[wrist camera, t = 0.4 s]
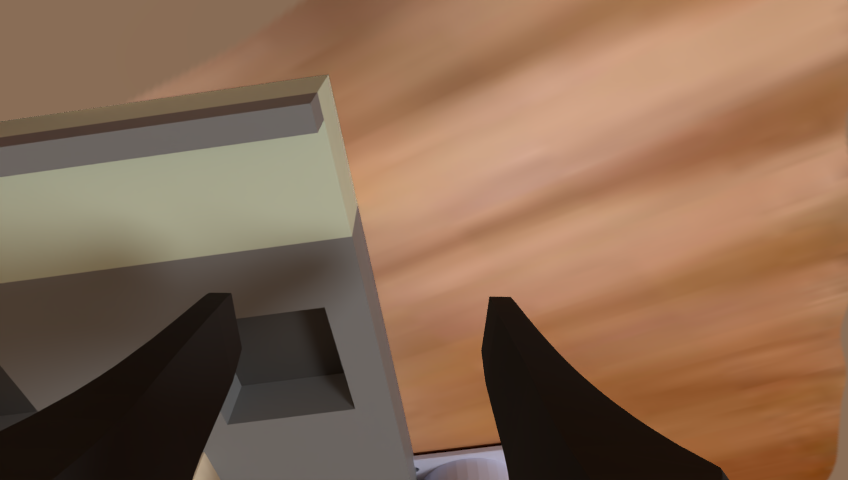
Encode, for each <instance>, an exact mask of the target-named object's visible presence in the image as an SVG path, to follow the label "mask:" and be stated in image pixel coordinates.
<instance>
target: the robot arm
mask: <svg viewBox="0 0 848 480" xmlns="http://www.w3.org/2000/svg"><path fill="white" fill-rule="evenodd" d="M241 351H242V346H241V341H240V336H239V330H238V325H237V320H236V315H235V310H234V304H233V299H232V294H231V293H208V294H206V295H205V296H204V297H202V298H201V299H200V300H199V301H197V302H196V303H195V304H194V305H193V306H191V307H190V308H189V309H188V310H187V311H185V312H184V313H183V314H182V315H181V316H179V317H178V318H177V319H176V320H174V321H173V322H172V323H171V324H169V325H168V326H167V327H166V328H165V329H163V330H162V331H161V332H160V333H158V334H157V335H156V336H155V337H153V338H152V339H151V340H149V341H148V342H147V343H145V344H144V345H143V346H141V347H140V348H139V349H137V350H136V351H134V352H133V353H132V354H130V355H129V356H128V357H126V358H125V359H124V360H122V361H121V362H120V363H118V364H117V365H115V366H114V367H112V368H111V369H109V370H108V371H106V372H105V373H103V374H102V375H100V376H99V377H97V378H96V379H94V380H92V381H91V382H89V383H88V384H86V385H84V386H83V387H81V388H80V389H78V390H76V391H75V392H73V393H71V394H69V395H68V396H66V397H64V398H62V399H60V400H59V401H57V402H55V403H53V404H51V405H49V406H48V407H46V408H44V409H42V410H40V411H38V412H37V413H35V414H33V415H31V416H29V417H27V418H25V419H23V420H21V421H19V422H17V423H15V424H13V425H11V426H9V427H7V428H5V429H3V430H1V431H0V480H193V476H194V473H195V471H196V468H197V465H198V463H199V460H200V457H201V455H202V453H203V450H204V448H205V446H206V443H207V441H208V439H209V436H210V434H211V432H212V430H213V427H214V425H215V423H216V420H217V418H218V416H219V413H220V411H221V409H222V406H223V404H224V402H225V399H226V397H227V395H228V392H229V390H230V387H231V385H232V383H233V379H234V376H235V373H236V369H237V366H238V362H239V358H240V354H241ZM481 351H482V359H483V367H484V374H485V382H486V386H487V390H488V394H489V398H490V402H491V406H492V410H493V414H494V418H495V421H496V425H497V429H498V433H499V437H500V441H501V445H500V446H492V447H484V448H475V449H467V450H459V451H450V452H442V453H434V454H425V455H417V456H413V461H414V466H415V467H416V475H417V479H418V480H729V479H728V478H727V476H726V475H725V473H724V472H723V471H722V469H721V468H720V467H718V466H716V465H714V464H713V463H711V462H709V461H707V460H705V459H703V458H701V457H700V456H698V455H696V454H694V453H692V452H690V451H689V450H687V449H685V448H683V447H681V446H679V445H678V444H676V443H674V442H672V441H671V440H669V439H668V438H666V437H664V436H663V435H661V434H660V433H658V432H656V431H655V430H653V429H651V428H650V427H648V426H647V425H645V424H644V423H642V422H641V421H639V420H638V419H636V418H635V417H634V416H632V415H631V414H629V413H628V412H627V411H625V410H624V409H623V408H621V407H620V406H618V405H617V404H616V403H614V402H613V401H612V400H610V399H609V398H608V397H607V396H605V395H604V394H603V393H602V392H600V391H599V390H598V389H597V388H596V387H594V386H593V385H592V384H591V383H590V382H589V381H587V380H586V379H585V378H584V377H583V376H582V375H581V374H579V373H578V372H577V371H576V370H575V369H574V368H573V367H572V366H571V365H570V364H569V363H568V362H567V361H566V360H565V359H564V358H563V357H562V356H561V355H560V354H559V353H558V352H557V351H556V350H555V349H554V347H553V346H552V345H551V344H550V343H549V342H548V341H547V340H546V339H545V337H544V336H543V335H542V334H541V333H540V332H539V331H538V329H537V328H536V327H535V326H534V325H533V323H532V322H531V321H530V320H529V319H528V317H527V316H526V315H525V314H524V313H523V311H522V310H521V309H520V308H519V306H518V305H517V304H516V303H515V301H514V300H513V299H512V298H511V297H489V304H488V310H487V317H486V324H485V330H484V337H483V344H482V350H481Z"/></svg>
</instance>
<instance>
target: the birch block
mask: <svg viewBox="0 0 848 480" xmlns="http://www.w3.org/2000/svg"><path fill="white" fill-rule="evenodd" d="M193 480H220V478H219V476H218V474H217V473H216V471H215V469H214V468H213V466H212V464H211V463H210V461H209V459H208V457H207V456H206V454H205V452H203V453H202V455H201V457H200V460H199V463H198V465H197V468H196V471H195V473H194V476H193Z"/></svg>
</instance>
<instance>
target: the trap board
mask: <svg viewBox="0 0 848 480" xmlns="http://www.w3.org/2000/svg"><path fill="white" fill-rule="evenodd" d="M208 293H231V294H232V299H233V304H234V310H235V315H236V320H237V325H238V330H239V336H240V341H241V346H242V351H241V354H240V358H239V362H238V366H237V369H236V373H235V376H234V379H233V383H232V385H231V387H230V390H229V392H228V395H227V397H226V399H225V402H224V404H223V406H222V409H221V411H220V413H219V416H218V418H217V420H216V423H215V425H214V427H213V430H212V432H211V434H210V436H209V439H208V441H207V443H206V446H205V448H204V450H203V452H205V454H206V456H207V457H208V459H209V461H210V463H211V464H212V466H213V468H214V469H215V471H216V473H217V474H218V476H219V478H220V480H418V479H417V475H416V467H415V466H414V461H413V456H414V454H413V450H412V445H411V441H410V436H409V432H408V427H407V423H406V419H405V414H404V410H403V405H402V401H401V396H400V392H399V387H398V383H397V378H396V374H395V370H394V365H393V361H392V356H391V352H390V347H389V343H388V338H387V334H386V329H385V325H384V320H383V316H382V312H381V307H380V303H379V298H378V294H377V289H376V285H375V280H374V276H373V271H372V267H371V262H370V258H369V254H368V249H367V245H366V240H365V236H364V231H363V227H362V222H361V218H360V213H359V209H358V205H357V200H356V196H355V191H354V187H353V182H352V178H351V173H350V169H349V164H348V160H347V155H346V151H345V147H344V142H343V138H342V133H341V129H340V124H339V120H338V115H337V111H336V106H335V102H334V98H333V93H332V89H331V84H330V80H329V75H322V76H315V77H308V78H301V79H294V80H287V81H280V82H273V83H266V84H259V85H252V86H245V87H238V88H231V89H224V90H217V91H210V92H203V93H196V94H189V95H182V96H175V97H168V98H161V99H155V100H148V101H141V102H134V103H127V104H120V105H113V106H106V107H99V108H93V109H85V110H78V111H71V112H64V113H57V114H50V115H44V116H36V117H29V118H22V119H16V120H8V121H1V122H0V431H1V430H3V429H5V428H7V427H9V426H11V425H13V424H15V423H17V422H19V421H21V420H23V419H25V418H27V417H29V416H31V415H33V414H35V413H37V412H38V411H40V410H42V409H44V408H46V407H48V406H49V405H51V404H53V403H55V402H57V401H59V400H60V399H62V398H64V397H66V396H68V395H69V394H71V393H73V392H75V391H76V390H78V389H80V388H81V387H83V386H84V385H86V384H88V383H89V382H91V381H92V380H94V379H96V378H97V377H99V376H100V375H102V374H103V373H105V372H106V371H108V370H109V369H111V368H112V367H114V366H115V365H117V364H118V363H120V362H121V361H122V360H124V359H125V358H126V357H128V356H129V355H130V354H132V353H133V352H134V351H136V350H137V349H139V348H140V347H141V346H143V345H144V344H145V343H147V342H148V341H149V340H151V339H152V338H153V337H155V336H156V335H157V334H158V333H160V332H161V331H162V330H163V329H165V328H166V327H167V326H168V325H169V324H171V323H172V322H173V321H174V320H176V319H177V318H178V317H179V316H181V315H182V314H183V313H184V312H185V311H187V310H188V309H189V308H190V307H191V306H193V305H194V304H195V303H196V302H197V301H199V300H200V299H201V298H202V297H204V296H205V295H206V294H208Z"/></svg>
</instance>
